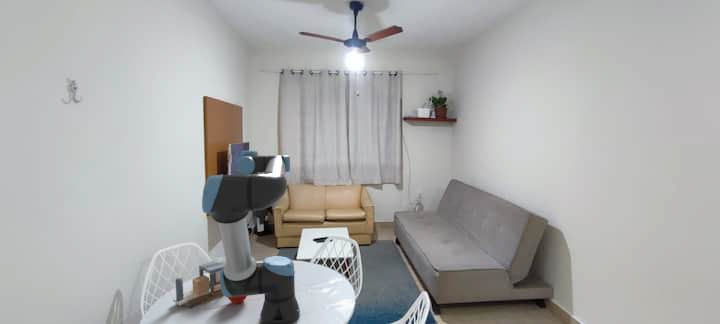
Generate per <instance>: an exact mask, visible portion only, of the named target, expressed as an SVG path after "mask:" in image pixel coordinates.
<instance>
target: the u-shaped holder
mask: <svg viewBox="0 0 720 324" xmlns="http://www.w3.org/2000/svg"><path fill="white" fill-rule="evenodd" d="M191 279H192V290H191V291H192V292H191V291H189V293H188V292H186V293H187V294H185V293H184V283H183V280H184V279H183V277H177V278H176V279H175V296H176V297H174V298H172V301H173V302H174V303H175V304H177V305H178V306H182V305H184V304H185V303H187V302H188V301H190V300H192V299H195V298H198V297H200V296H203V295H205V294H208V293H210V287H209V285H210V277H208V276H207V275H205V274H203V275H202V276H200V275H199V276H196V277H194V278H191ZM183 294H184V295H183Z"/></svg>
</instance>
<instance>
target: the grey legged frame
mask: <svg viewBox="0 0 720 324" xmlns="http://www.w3.org/2000/svg"><path fill="white" fill-rule="evenodd" d="M223 267H224V265H222V264H220V263H218V262H215V261H212V262H210V261H209V262H205V263H203V264H198V271H199V273H198V274H199V276H202V275H204V271H205V272H206V273H208V274H209V287H210V293H208V294H205V295H203V296H200V297H198V298H195V299H192V300H190V301H188V302H187V303H185V304H183V305H184V306H185V307H187V308H189V309H192V308H194V307H197V306H199V305H202V304H204V303H207V302H209V301H211V300H213V299H214V300H215V299H216V298H218V297H221V296H224V295H223V293H222V291H221V287H220V285H221V283H220V281H218V282H216V272H218V271H221V270H222V268H223ZM192 291H193V290H191V291H189V292H192ZM189 292H186V293H185V292H184V293H183V295H184V294H187V293H189Z"/></svg>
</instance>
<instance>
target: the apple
mask: <svg viewBox="0 0 720 324" xmlns="http://www.w3.org/2000/svg"><path fill="white" fill-rule="evenodd" d="M247 297H248V296H241V297H226V298H227V299H228V300H229V302H230V303H232V304H241V303H243V302H244V301H245V300H246V298H247Z"/></svg>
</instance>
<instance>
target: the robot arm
mask: <svg viewBox="0 0 720 324" xmlns="http://www.w3.org/2000/svg"><path fill="white" fill-rule="evenodd" d="M258 153H259V152H258V151H257V150H242V151H241V152H240V157H239V158H238V160H237V161H236V164H235V167H236V170H237V172H239V173H240V174H220V175H218V174H217V175H210V176H209V177H207V178H206V180H205V182H204V186H203V191H202V198H201V199H202V200H201V206H202V207H201V209H202V212H203V213H205V214H210V215H211V219H213V222H214V221H215V223H218V228H219V231H220V237H221V241H222V247H223V252H224V257H225V258H226V262H227V263H226V264H225V266H224V267H223V268H222V270H221V273H220V283H221V285H220V287H221V291H222V293H223V295H222V296H224V297H226V298H227V297H241V296H247V297H248V296H257V295H264V300H263V301H264V302H263V304H262V309H261V310H260V322H261V324H293V323H296V321H297V320H298V319H299V318H300V315H301V314H300V313H301V311H300V306H299V305H300V304H299V303H298V300H297V298H296V297H297V296H296V294H295V292H296V291H295V290H296V289H295V274H296V273H295V264H294V262H293V260H292V259H290V258H289V257H286V256H281V255H273V256H267V257H265V258H264V259H263V261H262V262H257V260H256V259H255V258H254V257H253V256H252V251H251V244H250V237H249V230H248V224H247V223H248V221H247V219H248V218H247V216H249V213H250V212H251V211H252V212H253V211H254V212H255V213H256V215H257V217H256V220H257V221H256V222H257V223H256V224H257V226H256V227H257V228H256V229H257V232H258V233H259V232H262V231H264V224H265V222H264V220H265V217H266V216H267V215H268V213H267V211H266V209H267V208H269V207H272V206H273V205H275V204H277V203H278V202H279V201H280V200H281V199H282V198H283V197H284V196H285V193H286V192H287V188H288V183H287V179H286V173H289V172H290V171H291V158H290V155H284V154H281V155H280V154H278V155H277V154H275V155H259V154H258Z"/></svg>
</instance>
